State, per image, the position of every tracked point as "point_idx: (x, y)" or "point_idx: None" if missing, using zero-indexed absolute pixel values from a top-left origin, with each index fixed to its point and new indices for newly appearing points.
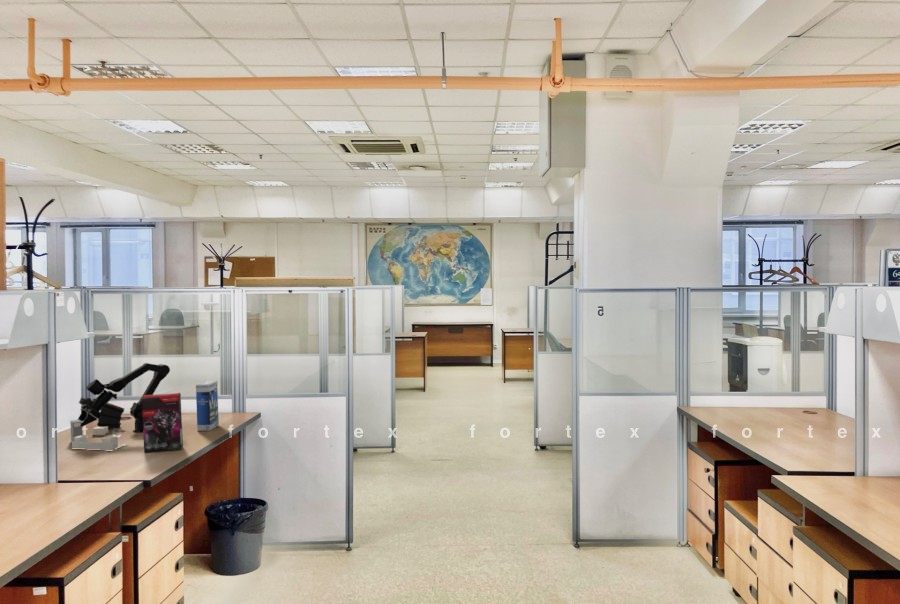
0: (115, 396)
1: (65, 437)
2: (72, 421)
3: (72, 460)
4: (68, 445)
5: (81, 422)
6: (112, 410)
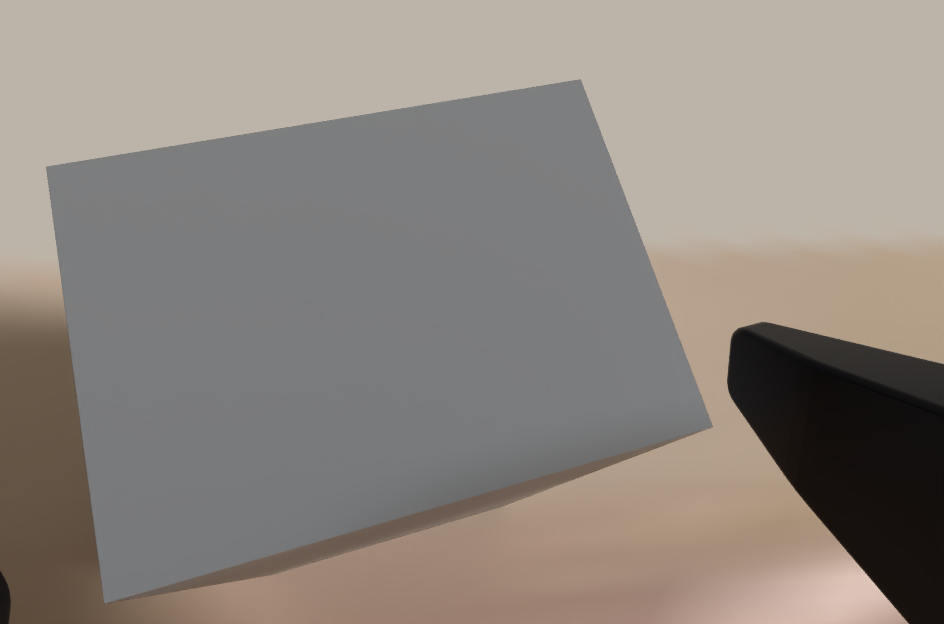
0: None
1: (872, 245)
2: (387, 152)
3: None
4: None
5: (123, 583)
6: None
